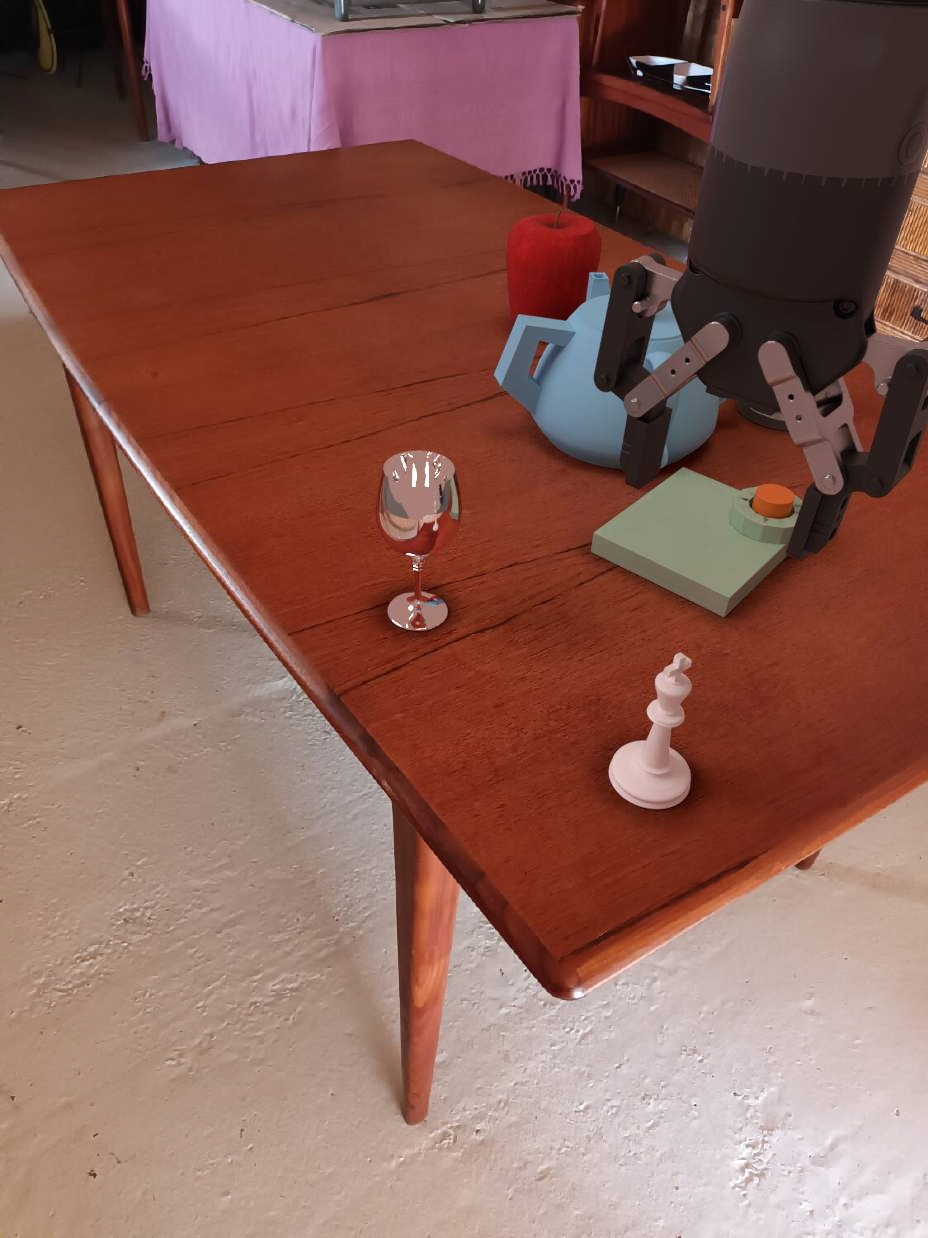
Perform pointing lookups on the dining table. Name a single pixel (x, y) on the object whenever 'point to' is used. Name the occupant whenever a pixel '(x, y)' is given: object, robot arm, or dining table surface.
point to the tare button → (773, 501)
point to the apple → (550, 264)
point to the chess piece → (657, 748)
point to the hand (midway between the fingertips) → (717, 514)
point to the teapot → (569, 392)
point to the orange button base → (697, 540)
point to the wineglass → (418, 526)
